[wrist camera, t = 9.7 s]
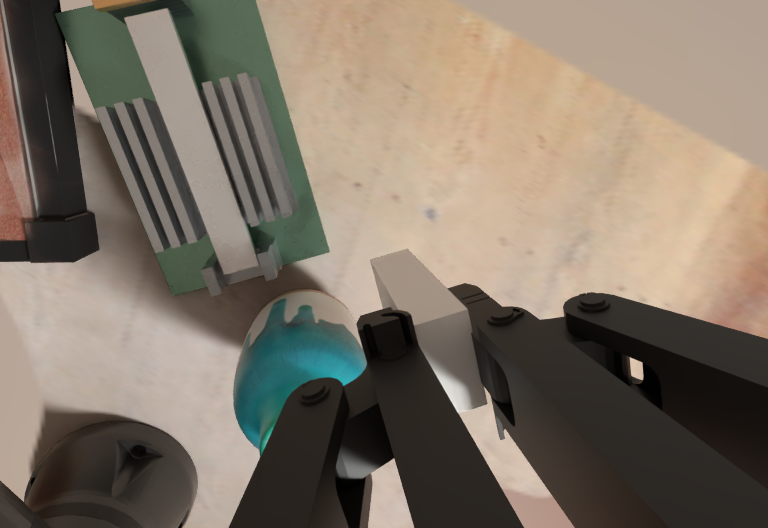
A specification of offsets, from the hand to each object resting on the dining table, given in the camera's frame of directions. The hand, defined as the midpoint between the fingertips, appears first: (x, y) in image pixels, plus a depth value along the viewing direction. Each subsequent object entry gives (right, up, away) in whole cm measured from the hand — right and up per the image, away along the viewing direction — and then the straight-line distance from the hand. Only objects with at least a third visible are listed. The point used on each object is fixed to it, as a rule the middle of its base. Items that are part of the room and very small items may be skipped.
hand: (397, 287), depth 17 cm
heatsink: (-16, +11, +22) cm, 29 cm away
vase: (-9, -5, +28) cm, 30 cm away
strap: (-15, +10, +18) cm, 25 cm away
